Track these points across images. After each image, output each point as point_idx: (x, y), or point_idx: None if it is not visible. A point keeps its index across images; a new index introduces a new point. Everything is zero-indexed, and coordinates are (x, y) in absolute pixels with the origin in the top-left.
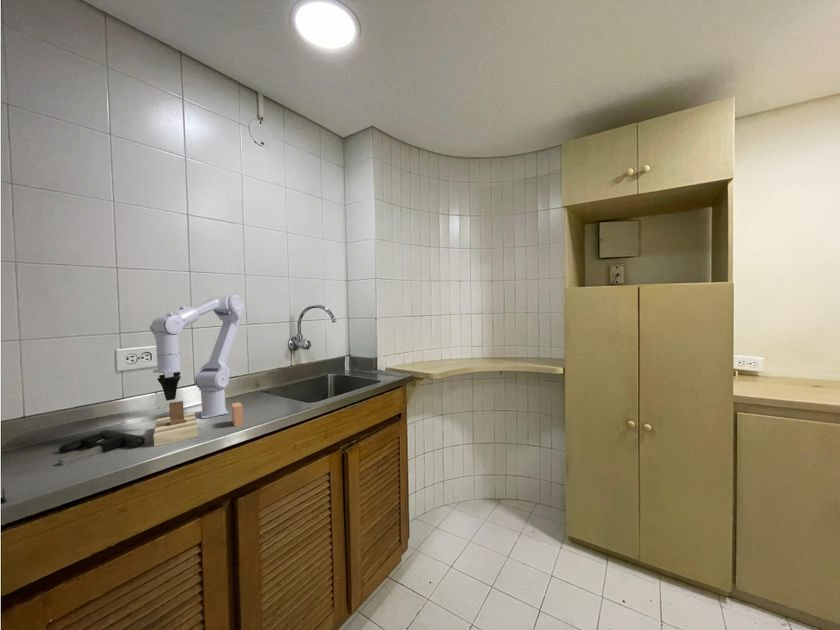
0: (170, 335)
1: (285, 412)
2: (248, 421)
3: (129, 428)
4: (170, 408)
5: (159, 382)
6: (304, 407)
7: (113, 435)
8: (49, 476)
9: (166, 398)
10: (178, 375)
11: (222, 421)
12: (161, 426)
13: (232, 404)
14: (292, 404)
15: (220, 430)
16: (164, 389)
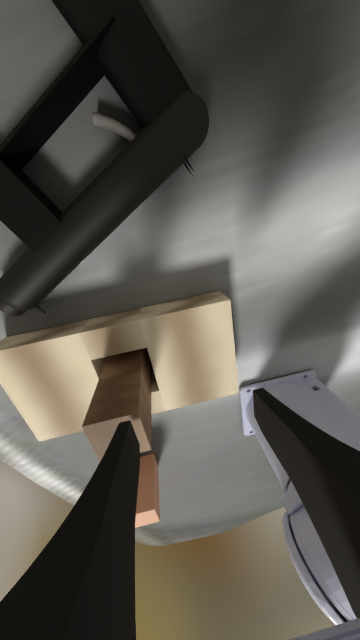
0: None
1: (166, 521)
2: None
3: (299, 185)
4: (89, 414)
5: (6, 595)
6: (183, 540)
7: (92, 186)
8: None
9: (114, 434)
10: (341, 583)
11: (175, 434)
12: (97, 346)
13: (142, 513)
14: (227, 521)
15: (88, 446)
16: (83, 499)
